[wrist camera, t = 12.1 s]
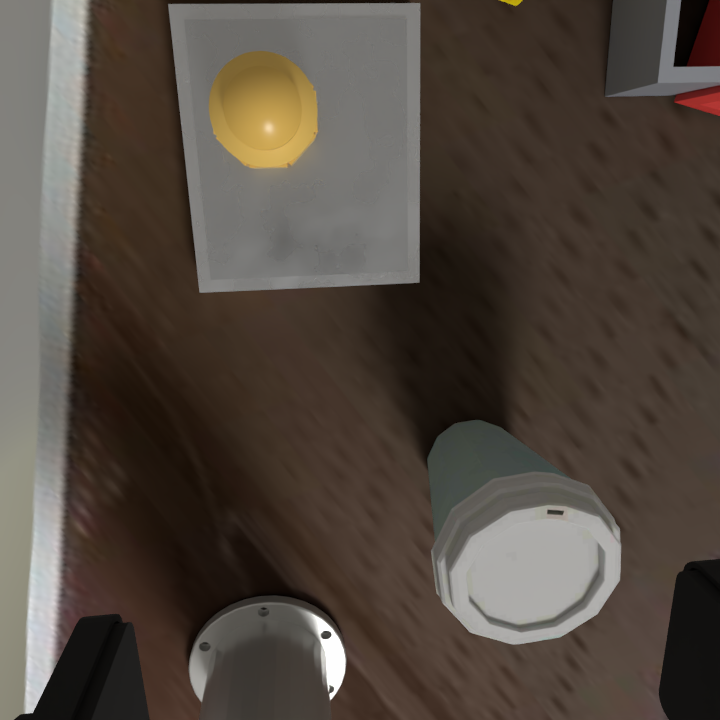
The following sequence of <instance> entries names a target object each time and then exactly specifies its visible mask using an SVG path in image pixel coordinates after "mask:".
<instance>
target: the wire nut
mask: <svg viewBox="0 0 720 720" xmlns="http://www.w3.org/2000/svg"><path fill="white" fill-rule="evenodd" d="M209 115H210V120H211V124H212V127H213V133H214V135H216V136H217V137H216V139H217V140H218V141H219V142H220V143H221V144H222V145H223V146H224V147H225V148H226V149H227V150H228V152H230V153H231V154H232V155H233V156H235V157H236V158H237V159H238V160H239V161H240V162H241V163H243V164H244V165H245V166H247V167H249V168H254V169H255V168H288V163H289V164H290V165H291V166H292V165H293V164H294V163H295V162H296V161H297V159H298V158H299V157H300V156H301V155H302V154H303V153H304V151H305V150H306V149H307V148H308V147H309V146H310V145H311V144H312V142H313V141H314V140H315V138H316V135H317V133H318V127H317V101H316V91H314V86H313V85H312V84H311V83H310V81H309V80H308V78H307V77H306V75H305V74H304V73H303V71H302V70H301V69H300V68H299V67H298V66H297V65H296V64H295V63H293V62H292V61H290V60H289V59H287V58H286V57H283V56H282V55H279V54H276V53H273V52H268V51H252V52H248V53H244V54H242V55H239V56H237V57H235V58H234V59H232V60H231V61H229V62H228V63H227V64H226V65H225V66H224V67H223V68H222V69H221V70H220V72H219V73H218V75H217V76H216V78H215V80H214V82H213V85H212V87H211V91H210V96H209Z"/></svg>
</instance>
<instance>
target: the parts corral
mask: <svg viewBox="0 0 720 720" xmlns="http://www.w3.org/2000/svg"><path fill="white" fill-rule="evenodd" d="M680 5H681V0H613V8H612V19H611V31H610V42H609V54H608V65H607V76H606V88H605V97H611V96H667V95H677V94H681V93H686V92H691V91H695V90H700V89H705V88H709V87H714V86H719V85H720V66H710V67H673V65H674V57H675V48H676V40H677V31H678V22H679V14H680Z"/></svg>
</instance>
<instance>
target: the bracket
mask: <svg viewBox="0 0 720 720" xmlns="http://www.w3.org/2000/svg"><path fill="white" fill-rule="evenodd" d="M710 66H720V0H709V3H708V6H707V9H706V12H705V15H704V17H703V20H702V23H701V26H700V29H699V32H698V35H697V37H696V40H695V43H694V46H693V49H692V52H691V55H690V57H689V60H688V63H687V66H686V67H710ZM674 102H675V103H679V104H682V105H685V106H688V107H692V108H695V109H698V110H702V111H705V112H708V113H712V114H715V115H718V116H720V85H719V86H714V87H709V88H705V89H700V90H695V91H691V92H686V93H681V94H677V95H676V98H675V100H674Z"/></svg>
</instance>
